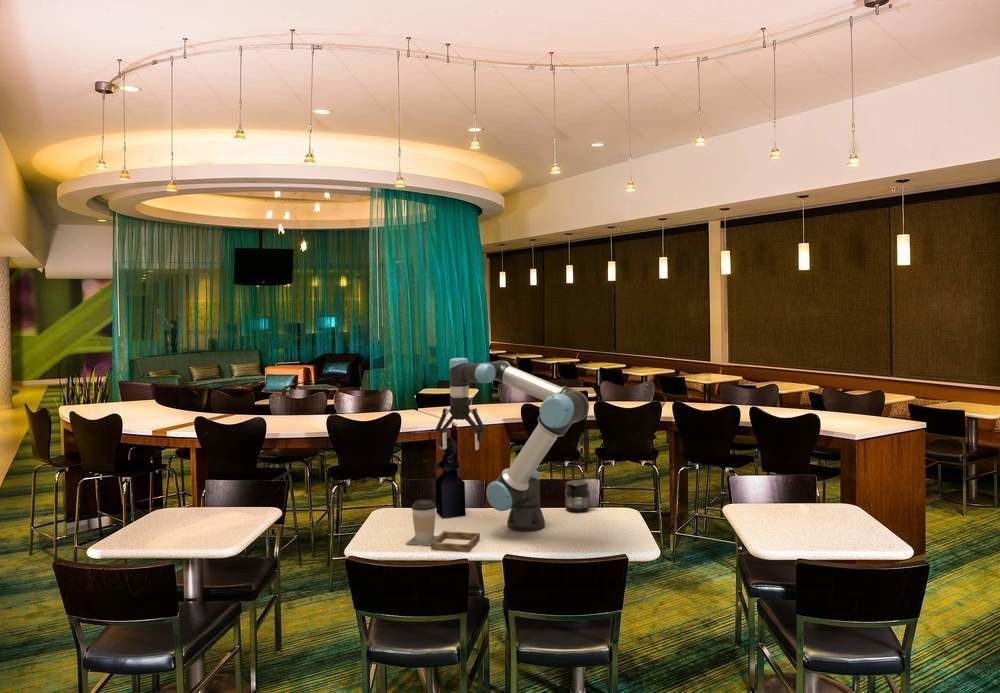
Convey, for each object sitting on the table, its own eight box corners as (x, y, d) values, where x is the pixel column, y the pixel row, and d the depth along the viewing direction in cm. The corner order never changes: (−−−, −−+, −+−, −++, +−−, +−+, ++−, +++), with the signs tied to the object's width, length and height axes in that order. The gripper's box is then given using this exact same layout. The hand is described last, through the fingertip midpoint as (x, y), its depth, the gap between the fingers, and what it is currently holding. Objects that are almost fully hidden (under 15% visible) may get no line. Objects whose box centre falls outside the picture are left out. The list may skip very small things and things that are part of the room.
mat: (443, 537, 280) (443, 536, 280) (433, 546, 269) (433, 545, 269) (416, 535, 283) (416, 534, 283) (406, 544, 272) (406, 543, 272)
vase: (431, 511, 318) (429, 431, 316) (457, 508, 322) (454, 429, 320) (439, 519, 304) (437, 436, 303) (466, 516, 308) (463, 434, 306)
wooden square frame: (479, 539, 276) (479, 533, 276) (469, 552, 262) (468, 545, 262) (443, 537, 280) (443, 531, 280) (431, 549, 266) (430, 543, 266)
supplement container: (578, 505, 321) (578, 478, 321) (594, 510, 312) (594, 483, 312) (560, 509, 315) (559, 482, 315) (576, 514, 306) (575, 486, 306)
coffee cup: (424, 534, 282) (423, 496, 282) (441, 538, 277) (440, 499, 276) (407, 540, 275) (406, 501, 275) (424, 545, 270) (423, 505, 269)
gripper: (492, 395, 291) (493, 447, 292) (433, 395, 297) (434, 446, 298) (487, 397, 284) (488, 451, 285) (426, 397, 290) (428, 450, 291)
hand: (460, 449), depth 292 cm, fingers open, 13 cm apart
